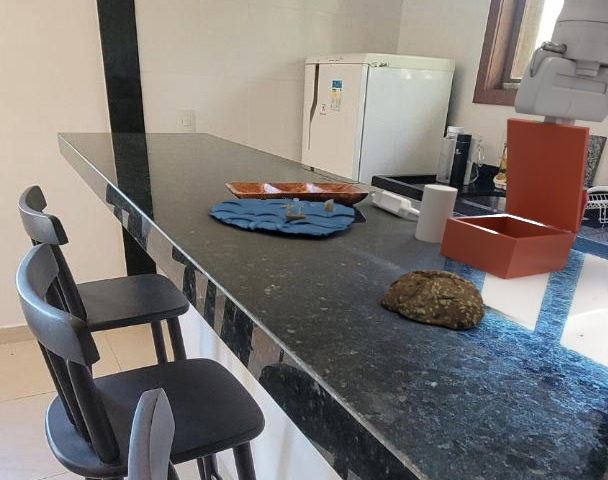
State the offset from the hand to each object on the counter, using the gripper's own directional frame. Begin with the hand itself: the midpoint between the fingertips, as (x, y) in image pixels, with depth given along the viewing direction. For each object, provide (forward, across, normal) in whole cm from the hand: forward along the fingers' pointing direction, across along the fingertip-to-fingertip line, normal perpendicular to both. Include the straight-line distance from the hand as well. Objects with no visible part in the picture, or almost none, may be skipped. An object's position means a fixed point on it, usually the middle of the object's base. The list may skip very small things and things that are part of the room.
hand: (551, 150), depth 84 cm
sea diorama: (+19, -25, +36) cm, 48 cm away
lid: (+4, -1, 0) cm, 4 cm away
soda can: (+19, +18, +5) cm, 26 cm away
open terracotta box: (+18, -5, 0) cm, 19 cm away
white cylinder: (+19, -7, +15) cm, 25 cm away
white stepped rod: (+19, +7, +38) cm, 43 cm away
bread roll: (+19, -32, -10) cm, 38 cm away
